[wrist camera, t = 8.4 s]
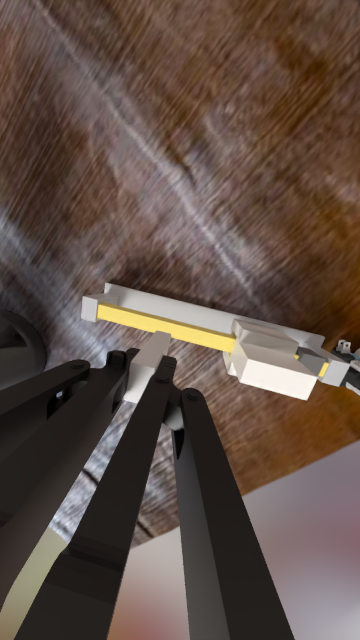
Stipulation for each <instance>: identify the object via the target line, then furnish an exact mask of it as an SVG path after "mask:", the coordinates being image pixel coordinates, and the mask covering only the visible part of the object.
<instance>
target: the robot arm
mask: <svg viewBox="0 0 360 640" xmlns="http://www.w3.org/2000/svg"><path fill="white" fill-rule="evenodd" d="M170 338H171V334H170V333H166V332H162V331H158V330H156V331H155V333H154V334H153V335H152V336H151V338H150V339H149V340H148V341H147V343H146V344H145V345H144V346H143V348H142V349H141V350H140V349H136V348H131V349H128V350H127V351H126V352H124V351H119V350H114V351H110V352H108V353H107V360H106V365H105V366H104V367H103V368H90V366H91V365H90V363H89V362H88V361H86V360H81V359H78V360H72V361H69V362H67V363H64V364H62V365H59V366H57V367H55V368H52V369H50V370H48V371H45V372H43V369H44V367H45V362H46V354H45V349H44V345H43V342H42V340H41V338H40V336H39V335H38V333H37V332H36V330H35V329H34V328H33V327H32V326H31V324H29V323H28V322H27V321H26V320H25V319H23V318H22V317H20V316H19V315H17V314H14V313H12V312H9V311H2V310H0V612H1V609H2V607H3V604H4V602H5V599H6V597H7V594H8V593H9V591H10V589H11V587H12V585H13V583H14V581H15V579H16V578H17V576H18V575H19V573H20V571H21V569H22V568H23V566H24V565H25V563H26V561H27V560H28V558H29V556H30V555H31V553H32V551H33V549H34V548H35V546H36V545H37V543H38V542H39V540H40V538H41V536H42V535H43V533H44V531H45V530H46V528H47V527H48V525H49V523H50V522H51V520H52V518H53V517H54V515H55V513H56V512H57V510H58V508H59V507H60V505H61V503H62V502H63V500H64V499H65V497H66V495H67V494H68V492H69V490H70V489H71V487H72V485H73V484H74V482H75V480H76V479H77V477H78V475H79V474H80V472H81V470H82V469H83V467H84V465H85V464H86V462H87V461H88V459H89V457H90V456H91V454H92V452H93V451H94V449H95V447H96V446H97V444H98V442H99V441H100V439H101V437H102V436H103V434H104V432H105V431H106V429H107V427H108V426H109V424H110V423H111V421H112V419H113V418H114V416H115V414H116V413H117V411H118V409H119V408H120V406H121V403H122V398H123V396H124V395H125V399H124V400H127V401H130V402H134V403H138V404H137V406H136V408H135V410H134V412H133V414H132V416H131V418H130V420H129V422H128V424H127V427H126V429H125V431H124V433H123V435H122V437H121V439H120V441H119V443H118V445H117V447H116V449H115V451H114V453H113V455H112V457H111V459H110V461H109V463H108V466H107V468H106V470H105V472H104V474H103V476H102V478H101V480H100V482H99V484H98V486H97V488H96V490H95V492H94V494H93V496H92V498H91V500H90V502H89V505H88V507H87V509H86V511H85V513H84V515H83V517H82V519H81V521H80V523H79V525H78V527H77V529H76V531H75V533H74V535H73V537H72V539H71V541H70V543H69V544H68V546H67V547H66V548H65V549H64V550H63V551H62V552H61V553H60V554H59V556H58V557H57V559H56V560H55V562H54V564H53V565H52V567H51V569H50V571H49V573H48V574H47V576H46V578H45V580H44V582H43V584H42V586H41V587H40V589H39V591H38V593H37V595H36V597H35V599H34V601H33V603H32V605H31V607H30V609H29V611H28V613H27V615H26V617H25V619H24V621H23V623H22V625H21V627H20V628H19V630H18V632H17V634H16V637H15V638H14V640H107V638H108V634H109V629H110V625H111V622H112V618H113V614H114V610H115V606H116V602H117V597H118V594H119V590H120V586H121V582H122V578H123V574H124V570H125V567H126V563H127V558H128V555H129V551H130V547H131V543H132V539H133V535H134V531H135V527H136V523H137V519H138V515H139V511H140V507H141V503H142V499H143V495H144V491H145V488H146V484H147V480H148V476H149V472H150V468H151V464H152V460H153V456H154V452H155V448H156V444H157V440H158V436H159V432H160V428H161V424H162V423H164V424H165V425H167V426H169V427H170V428H172V431H171V433H172V444H173V455H174V466H175V477H176V488H177V499H178V510H179V521H180V532H181V543H182V554H183V565H184V575H185V586H186V598H187V609H188V621H189V632H190V640H295V639H294V636H293V634H292V631H291V629H290V626H289V623H288V620H287V618H286V615H285V612H284V610H283V607H282V604H281V602H280V599H279V597H278V594H277V591H276V588H275V586H274V583H273V580H272V578H271V575H270V572H269V570H268V567H267V564H266V561H265V559H264V556H263V553H262V551H261V548H260V545H259V543H258V540H257V537H256V535H255V532H254V530H253V527H252V524H251V521H250V518H249V516H248V513H247V510H246V508H245V505H244V502H243V500H242V497H241V494H240V492H239V489H238V486H237V484H236V481H235V478H234V476H233V473H232V470H231V468H230V465H229V462H228V460H227V457H226V454H225V451H224V449H223V446H222V443H221V441H220V438H219V435H218V433H217V430H216V427H215V425H214V422H213V419H212V417H211V414H210V411H209V409H208V406H207V403H206V401H205V398H204V396H203V394H202V393H201V392H200V391H198V390H196V389H194V388H185V389H183V390H180V389H178V388H177V387H176V386H175V385H174V384H173V376H174V372H175V368H176V364H177V361H176V358H173V357H169V356H167V352H168V347H169V343H170ZM42 372H43V373H42ZM61 391H62V395H61V396H60V397H56V395H57V393H59V392H61Z"/></svg>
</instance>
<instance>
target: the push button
mask: <svg viewBox="0 0 360 640" xmlns="http://www.w3.org/2000/svg"><path fill="white" fill-rule="evenodd" d="M341 342H343V344H340V343H341ZM346 344H348V347H346V346H345V345H346ZM350 344H351V343H350V342H345V340H339V344H338V347H337V348H336V350H332V352H331V354H333V355H335V356H336V357H338V358H340V359H342V360H343V361H345V362H347V363H349V364H351V365H350V367H349V369H348V370H347V372H346V374H345V376H344V378H343V380H342V382H341V383H340V385H339V386H345V387H347V388H349V389H352V390H353V391H354V392H356V393H357V394H358V395H360V358H359V356H357V355H355V354H353V353H351V352H350Z"/></svg>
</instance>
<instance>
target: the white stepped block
mask: <svg viewBox="0 0 360 640" xmlns="http://www.w3.org/2000/svg"><path fill="white" fill-rule="evenodd" d="M229 334H231V335H235V336H236V337H237V338H236V341H235V344H234V347H233V350H232V353H230V352H226V351H223V357H224V361H225V365H226V368H227V372H228V374H230V375H233V376H237V377H238V379H239V382H241V383H245V384H248V385H252V386H255V387H259V388H263V389H266V390H270V391H274V392H277V393H281V394H285V395H288V396H292V397H296V398H299V399H303V400H307V399H308V397H309V394H310V392H311V390H312V388H313V386H314V384H315V382H316V380H317V378H318V377H317V376H316V375H315V374H313V373H312V372H311V371H310V370H309V369H307V368H306V367H305V366H304V365H303V364H302V363H300V362H299V361H298V360H297V359H296V358H294V355H295V353H296V351H297V348H298V346H299V344H300V343H298V342H297V341H295V340H293V339H292V338H290V337H289V336H287V335H286V334H284V333H283V332H281V331H280V330H278V329H275V328H271V327H267V326H263V325H259V324H255V323H251V322H247V321H243V320H239V319H235V318H234V320H233V323H232V326H231V329H230V332H229Z"/></svg>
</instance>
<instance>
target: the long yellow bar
mask: <svg viewBox="0 0 360 640" xmlns="http://www.w3.org/2000/svg"><path fill="white" fill-rule="evenodd" d="M97 318H100V319H104V320H108V321H112V322H115V323H119V324H123V325H127V326H131V327H134V328H138V329H142V330H146V331H150V332H153V333H155V331H156V330H158V331H162V332H166V333H170V334H171V337H172V338H176V339H180V340H184V341H188V342H191V343H195V344H199V345H203V346H207V347H210V348H214V349H218V350H222V351H226V352H230V353H232V350H233V347H234V344H235V341H236V338H237V337H236V336H235V335H231V334H227V333H223V332H219V331H215V330H211V329H207V328H203V327H199V326H195V325H191V324H188V323H184V322H180V321H176V320H172V319H168V318H164V317H160V316H156V315H152V314H148V313H144V312H141V311H137V310H133V309H129V308H125V307H121V306H117V305H113V304H109V303H102V304H98V309H97ZM294 358H296V359H297V360H298V361H299V362H300V363H302V364H303V365H304V366H305V367H306V368H307V369H309V370H310V371H311V372H312V373H313V374H315V375H316V376H317V377H318V376H321V377H323V375H324V373H325V371H326V369H327V367H328V365H329V363H327V362H326V359H325V358H323V357H322V356H320V355H319V354H317V353H316V352H314V351H312V350H311V349H308V348H304V347H300V346H298V348H297V351H296V353H295V355H294Z"/></svg>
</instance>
